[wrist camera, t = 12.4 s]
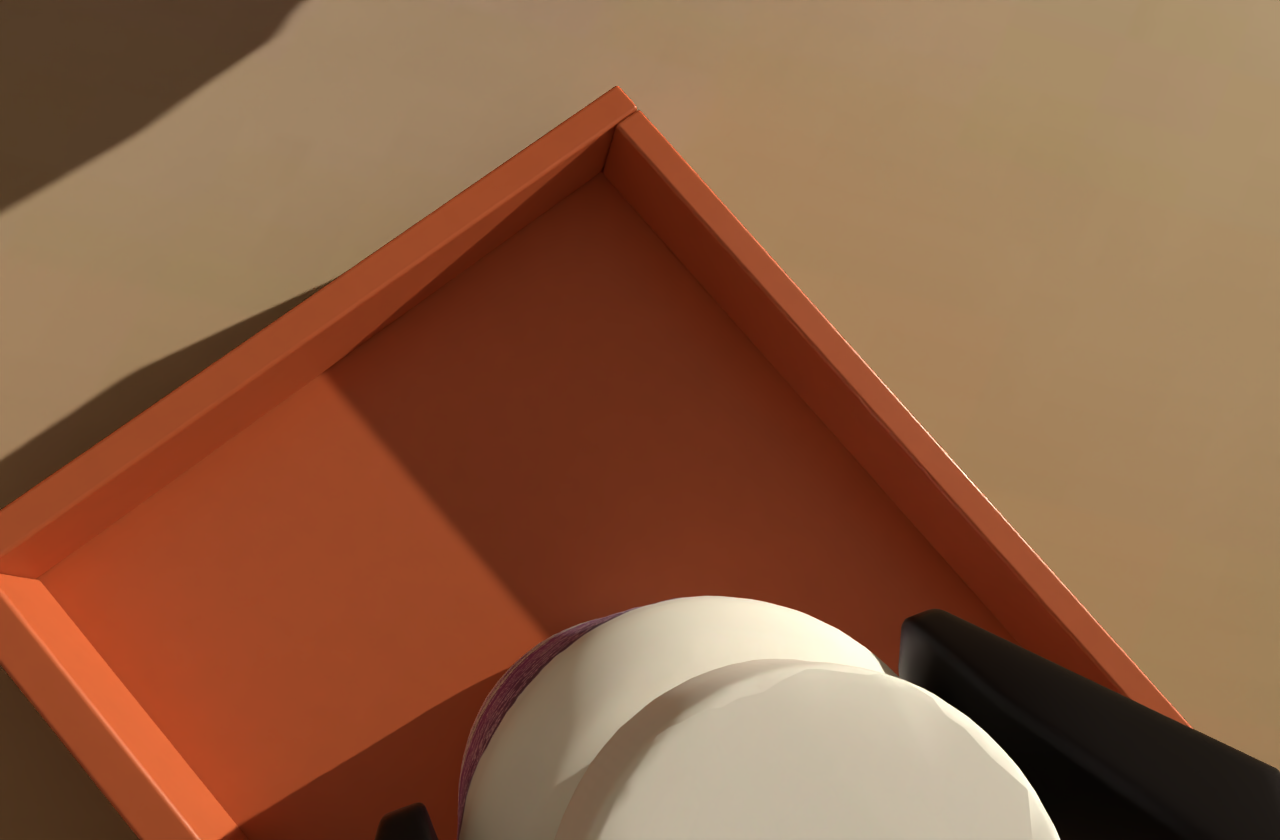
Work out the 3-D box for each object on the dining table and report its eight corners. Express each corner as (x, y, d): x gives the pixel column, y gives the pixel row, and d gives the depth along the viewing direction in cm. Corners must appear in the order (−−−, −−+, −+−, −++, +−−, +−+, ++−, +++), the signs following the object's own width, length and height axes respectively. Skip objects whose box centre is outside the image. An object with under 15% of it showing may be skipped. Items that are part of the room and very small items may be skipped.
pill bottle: (409, 903, 15) (306, 1313, 6) (521, 580, 16) (587, 475, 7) (728, 998, 15) (1125, 1520, 6) (807, 674, 17) (1220, 693, 8)
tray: (1135, 761, 18) (1240, 779, 16) (643, 1372, 15) (680, 1522, 12) (598, 155, 19) (617, 82, 17) (5, 578, 16) (-82, 564, 13)
